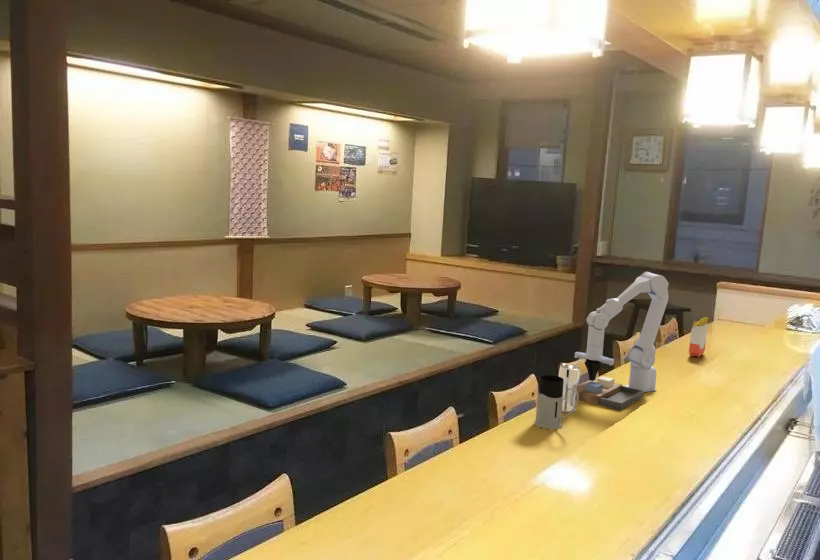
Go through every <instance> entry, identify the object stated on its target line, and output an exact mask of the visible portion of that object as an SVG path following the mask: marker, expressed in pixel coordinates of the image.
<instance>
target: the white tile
mask: <svg viewBox="0 0 820 560" xmlns="http://www.w3.org/2000/svg"><path fill="white" fill-rule="evenodd" d="M597 379H598V380H597V383H600V384H603V387H607V388H609V387H611V386H613V385H614V383H615V378H614V377H613V378H612V377H608V376H605V375H602V376H599V377H598V378H597Z"/></svg>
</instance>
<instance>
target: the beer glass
mask: <svg viewBox="0 0 820 560" xmlns="http://www.w3.org/2000/svg"><path fill="white" fill-rule="evenodd" d="M558 377H561V378H563V379H564V385H563V398H565V392H566V390H567V389H569V388H573V389H575V390H576V391H578V387H579V384H580V380H581V367H580V366H579V365H577V364H572V363H569V364H568V363H563V364H562V363H561V364H560V366H559V371H558ZM576 400H577V399H576V392H575V391H574V390H572V389H570V390H569V391H568V392H567V397H566V399H564V400H563V404H562V413H567V414H569V413H570V412H571V411H572V410H573V408H574V407H575V404H576ZM576 411H577V407H576V408H575V410H574V411H573V412H572V413H571V414H573V413H575V412H576Z"/></svg>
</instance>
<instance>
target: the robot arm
mask: <svg viewBox="0 0 820 560" xmlns="http://www.w3.org/2000/svg"><path fill="white" fill-rule="evenodd" d="M669 285H670V283H669V282H668V280H667V279H666V277H665V276H663V275H661V274H656V273H652V272H650V271H644V272H643V273H642V274H640V276H637V277H636V279H635V280H634V282H632V283H631V284H630V285H629V286H628V287H627V288H626V289H625V290H624V291H623V292H622V293H621V294H619V295H618V296H617V297H616V298H615V297H614V298H613V297H612V298H608V299H606V300H605V303H604V304H603V305H602V306H600V307H597V308H596V310H595V311H591V312H590V313H589V314H588V315H587V317H586V318H585V321H586V323H587V325H588V331H587V342H586V344H587V345H586V352H580V351H576V352H574V358H575V359H583V360H585V361H584V365H585V367H586V369H587V374H588V380H591V381H594V380H595V379H597V378H596V377H597V375H598V372H599V370H600V369H601V367H602V365H603V364H606V365H608V366H614V365H615V364H614V362H615V359H614V358H610V357H607V356H604V355H603V350H604V342H605V341H604V340H605V328H607V327H608V325H609V322H610V321H611V320H612V319H613V318H614V317H615V316H617V315H618V314H619V313H620V312H623V308H624V305H625V304H627V303H628V302H629V301H631V300H633V298H636V296H637V295H639V294H642V293H645V294H646V293H647V294H648V296H650V297H649V298H651V301H650V305H649V307H648V311H647V314H646V316H645V320H644V322H643V325H642V329H641V331H640V335H639V337H638V339H637V340H635V341H634V342H633V345H632V346H631V348H629V350H628V353H627V358H628V360H629V361H630V367H629V368H630V369H629V378H628V384H625V385H623V386H624V387H629V388H633V389H638V390H642V391H643V393H648V392H654V391H657V390H658V389H656V385H657V384H656V383H657V370H656V368H655V367H654V364H655V363H656V352H657V350H656V347H655V345H654V344H655V341H656V339H657V335H658V332H659V328H660V326H661V323H662V319H663V317H664V314H665V310H666V309H667V308H666V307H667V305H668V301H669V297H670V296H669V290H668V288H669Z"/></svg>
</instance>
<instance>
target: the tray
mask: <svg viewBox="0 0 820 560" xmlns="http://www.w3.org/2000/svg"><path fill="white" fill-rule="evenodd" d="M643 395H644V392H643V391H642V390H638V389H633V388H629V387H624V385H622V391H620V392H618V393H616V394H614V395H612V396H611V397H609V398H607V399H605V398H600V405H599V406H601V407H606V408H611V409H615V410H619V411H622V410H624V409H626V408H627V407H629V406H631V405H632V404H634V403H636V402H637V401H639V400H641V399H643Z"/></svg>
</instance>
